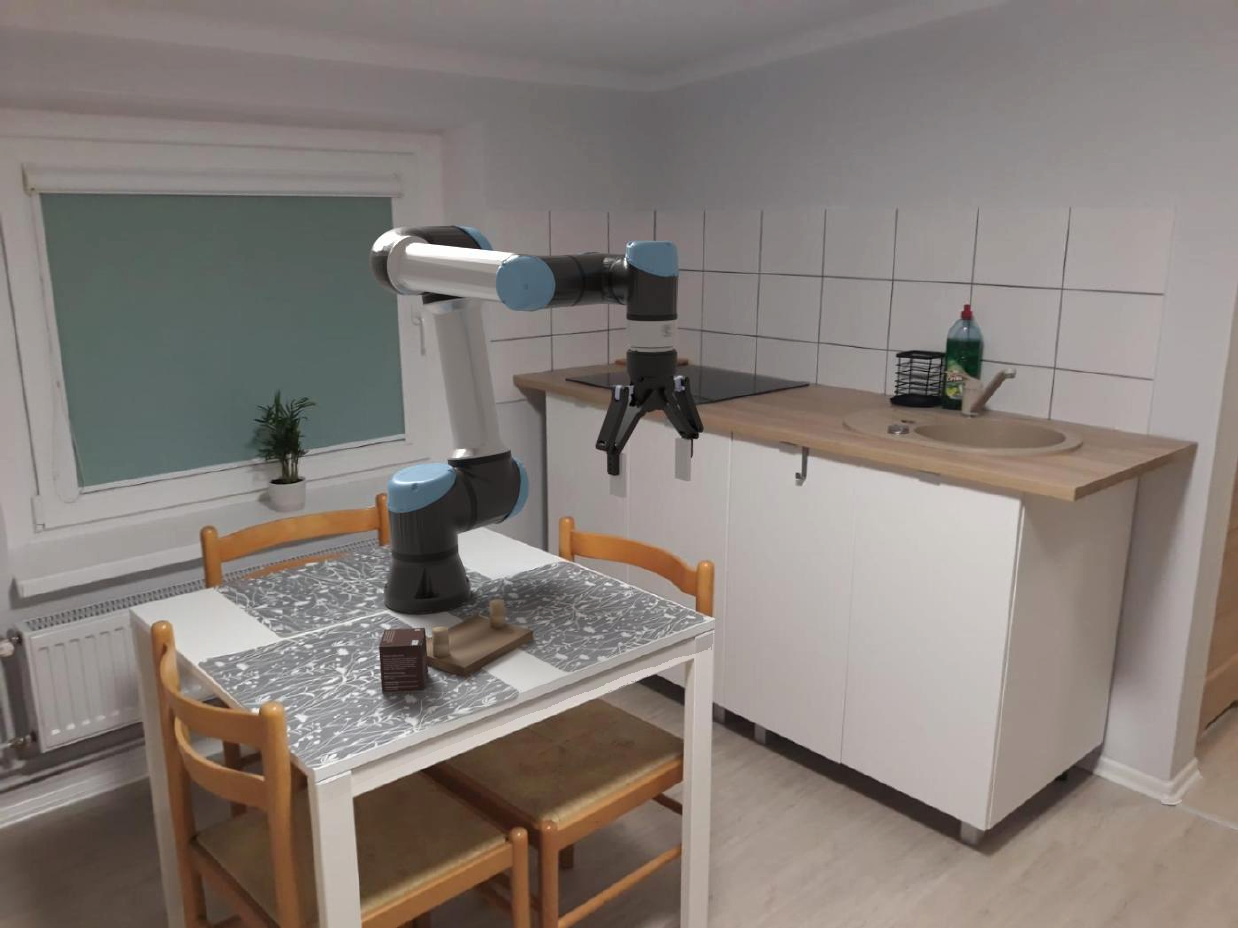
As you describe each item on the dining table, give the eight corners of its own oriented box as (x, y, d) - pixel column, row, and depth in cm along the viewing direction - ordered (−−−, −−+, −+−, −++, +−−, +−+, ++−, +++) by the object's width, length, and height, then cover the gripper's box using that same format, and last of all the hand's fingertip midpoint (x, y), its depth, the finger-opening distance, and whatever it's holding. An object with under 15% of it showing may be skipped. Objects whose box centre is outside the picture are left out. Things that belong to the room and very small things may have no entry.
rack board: (406, 658, 150) (403, 624, 149) (476, 623, 163) (474, 592, 162) (464, 676, 144) (463, 642, 142) (533, 638, 156) (532, 606, 155)
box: (387, 675, 145) (384, 628, 143) (429, 673, 145) (426, 626, 143) (381, 694, 139) (377, 646, 137) (424, 692, 139) (421, 644, 138)
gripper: (604, 359, 134) (605, 508, 139) (728, 343, 150) (724, 477, 155) (569, 353, 139) (572, 497, 144) (692, 338, 155) (690, 468, 160)
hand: (651, 487), depth 150 cm, fingers open, 13 cm apart
